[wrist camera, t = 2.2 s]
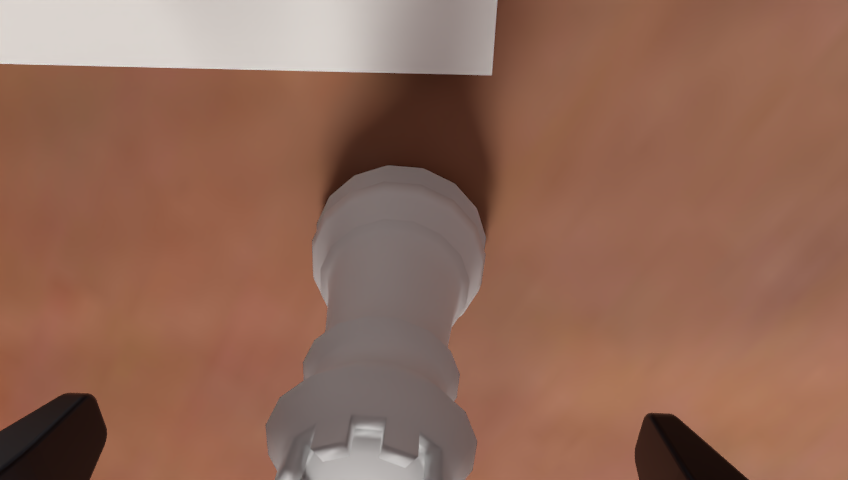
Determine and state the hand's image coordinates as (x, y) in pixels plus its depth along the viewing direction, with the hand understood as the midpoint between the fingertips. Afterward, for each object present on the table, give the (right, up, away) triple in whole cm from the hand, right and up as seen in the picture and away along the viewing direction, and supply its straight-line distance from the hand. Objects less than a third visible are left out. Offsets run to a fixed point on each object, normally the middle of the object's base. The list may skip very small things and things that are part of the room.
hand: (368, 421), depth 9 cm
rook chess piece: (0, +3, +6) cm, 7 cm away
